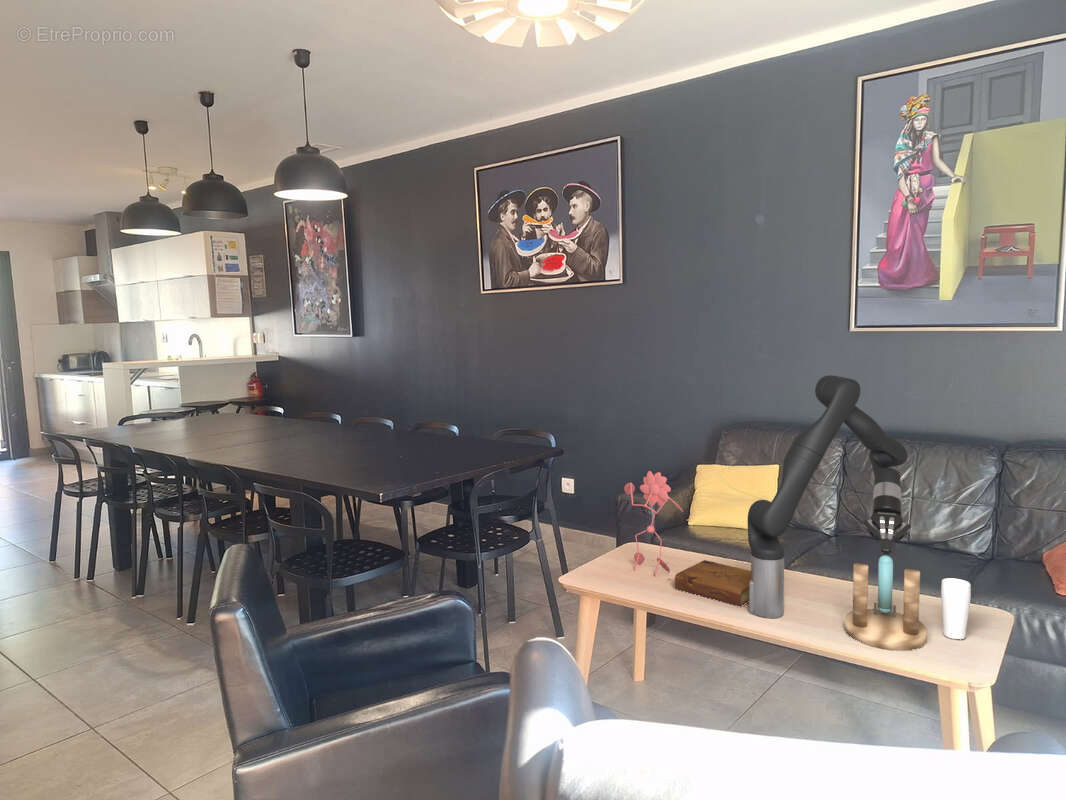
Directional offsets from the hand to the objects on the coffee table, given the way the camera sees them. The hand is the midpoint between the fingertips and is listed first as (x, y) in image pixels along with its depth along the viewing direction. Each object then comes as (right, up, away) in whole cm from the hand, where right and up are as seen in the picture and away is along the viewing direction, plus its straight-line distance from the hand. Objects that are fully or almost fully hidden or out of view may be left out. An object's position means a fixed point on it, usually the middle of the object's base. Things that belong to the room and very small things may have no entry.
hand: (886, 552), depth 196 cm
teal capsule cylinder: (-2, -16, -2) cm, 17 cm away
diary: (-39, -19, +27) cm, 52 cm away
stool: (-5, -20, -8) cm, 22 cm away
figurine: (-56, -17, +49) cm, 77 cm away
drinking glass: (+13, -20, -10) cm, 26 cm away
